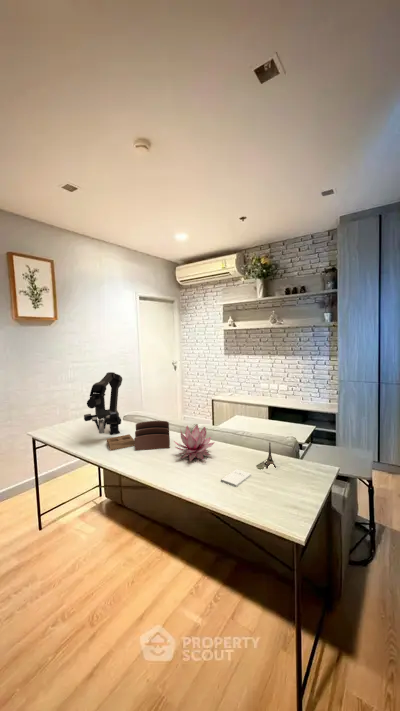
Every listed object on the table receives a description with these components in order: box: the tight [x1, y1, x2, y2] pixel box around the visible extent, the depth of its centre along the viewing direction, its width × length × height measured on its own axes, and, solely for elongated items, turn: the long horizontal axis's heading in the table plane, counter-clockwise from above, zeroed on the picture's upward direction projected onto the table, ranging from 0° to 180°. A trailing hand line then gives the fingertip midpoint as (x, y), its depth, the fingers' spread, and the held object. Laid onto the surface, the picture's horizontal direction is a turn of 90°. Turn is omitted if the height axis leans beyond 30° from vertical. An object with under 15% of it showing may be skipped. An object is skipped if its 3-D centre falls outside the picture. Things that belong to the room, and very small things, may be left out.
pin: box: [97, 419, 105, 434], centre depth 182 cm, size 3×3×8 cm
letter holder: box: [133, 420, 171, 452], centre depth 174 cm, size 10×20×14 cm, turn 95°
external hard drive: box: [220, 468, 252, 488], centre depth 133 cm, size 2×8×12 cm
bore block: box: [106, 433, 135, 452], centre depth 178 cm, size 12×14×4 cm
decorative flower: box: [173, 424, 215, 462], centre depth 157 cm, size 21×21×15 cm
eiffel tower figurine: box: [255, 441, 277, 471], centre depth 143 cm, size 15×10×13 cm
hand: (101, 429), depth 182 cm, fingers closed on pin, 3 cm apart
